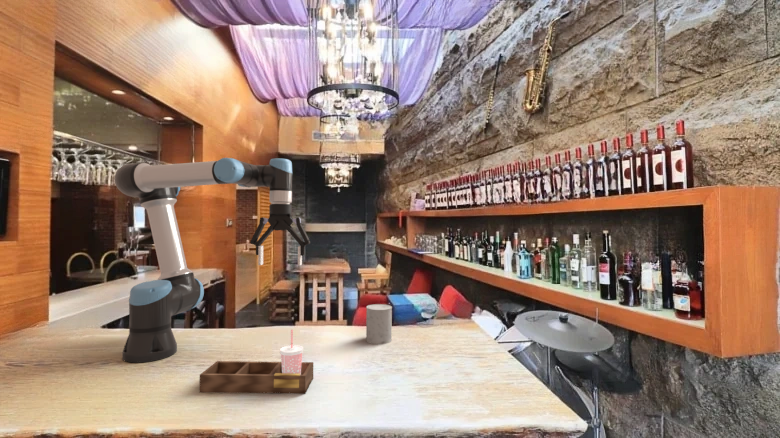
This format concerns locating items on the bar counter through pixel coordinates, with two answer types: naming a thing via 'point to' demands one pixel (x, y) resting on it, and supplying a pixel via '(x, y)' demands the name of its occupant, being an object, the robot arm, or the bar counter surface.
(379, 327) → the gray concrete cylinder
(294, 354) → the beverage cup
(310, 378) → the brown wooden compartment tray
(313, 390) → the bar counter surface
